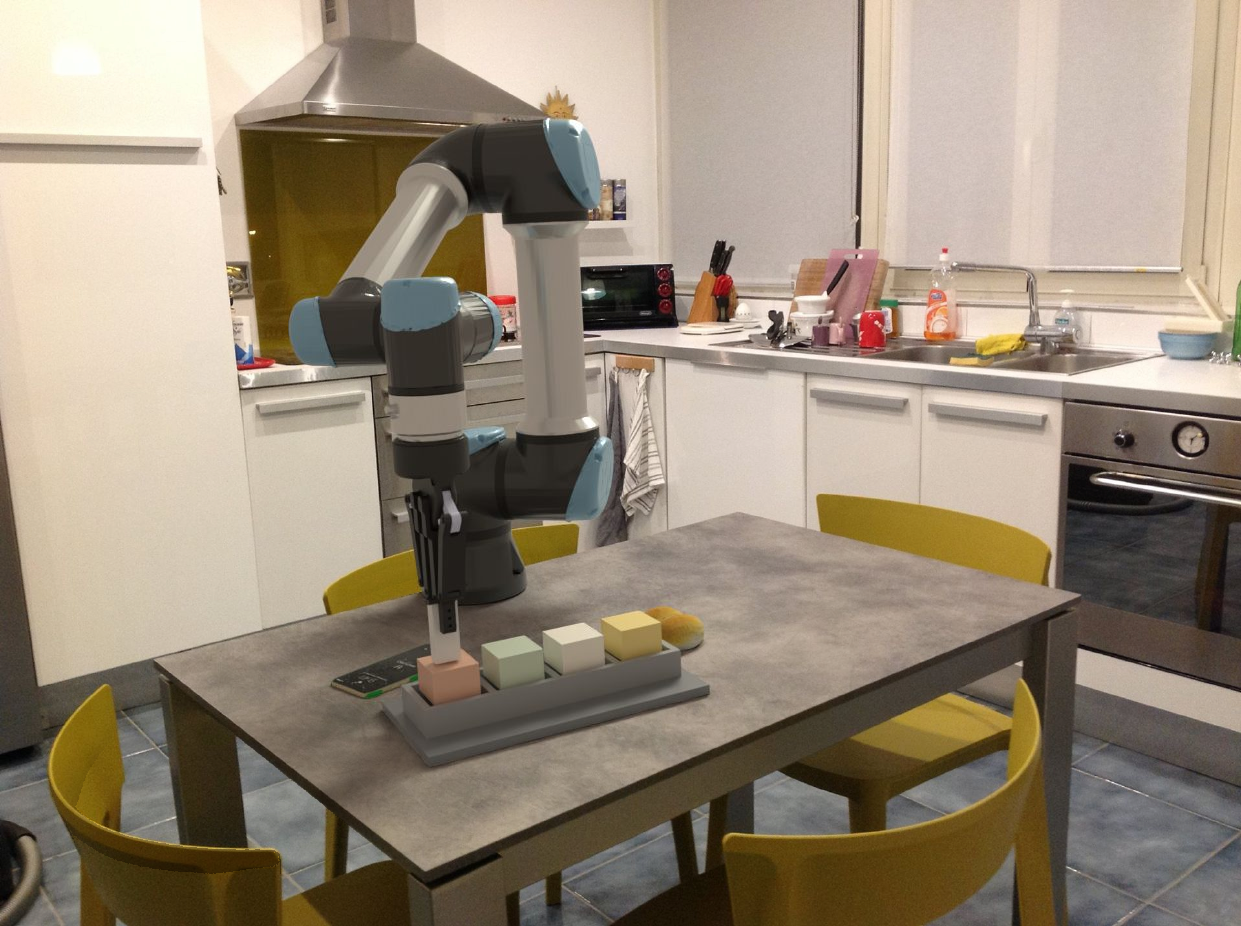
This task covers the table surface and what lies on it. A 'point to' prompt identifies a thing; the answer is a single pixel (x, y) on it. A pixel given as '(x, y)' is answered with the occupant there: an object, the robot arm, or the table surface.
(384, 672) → the smartphone
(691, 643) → the bread roll
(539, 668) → the key sage
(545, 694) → the grey compartment tray
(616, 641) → the key mustard
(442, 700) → the key terracotta
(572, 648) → the key ivory
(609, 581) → the table surface
